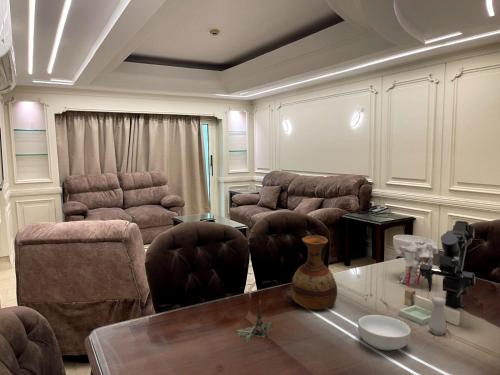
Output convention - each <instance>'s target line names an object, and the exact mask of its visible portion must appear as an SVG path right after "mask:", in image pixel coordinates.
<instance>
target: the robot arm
mask: <svg viewBox="0 0 500 375" xmlns="http://www.w3.org/2000/svg"><path fill="white" fill-rule="evenodd" d="M454 222H455V223H454V225H453V227H452V230H447V231H446V233H443V234H441V236H440V243H441V248H442V251H443V253H442V255H439V257H438V263H437V264H438V269H435V268H434V269H433V267H432V265H428V264H427V263H426V264H425V263H423V264H422V263H421V264H422V265H421V266H420V265H419V268H420V272H421V276H420V277H422V278H424V279H425V280H427V288H428V292H431V290H432V285H433V275H435V276H441V277H443V278H442V291H445V301H446V303H445V306H446V307H448V308H451V309H454V310H457V309H461V308H465V307H466V305H465V304H463V302H462V300H463V296H465V295H468V288H471V287H475V285H476V274H475V273H474V272H472V271H471V272H470V271H466V270H463V269H464V265H465V257H466V253H467V248H468V247H469V246H470V245H471V244H472V242H473V239H475V228H474V227H473V226H472V225H470V223H469V222H468V221H463V220H456V221H454Z"/></svg>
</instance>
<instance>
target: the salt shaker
mask: <svg viewBox="0 0 500 375" xmlns="http://www.w3.org/2000/svg"><path fill="white" fill-rule="evenodd" d="M431 301H432V303H433V304H434V306H433V310H432V314H431V318H430V321H429V323H428V328H429V330H430V333H431V334H434V335H435V336H443V335H444V334H445V333H446V331H447V327H448V326H447V321H446V320H445V313H444V306H446V305H445V303H446V298H444V297H441V296H433V297H432V299H431Z"/></svg>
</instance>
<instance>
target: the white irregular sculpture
mask: <svg viewBox="0 0 500 375" xmlns="http://www.w3.org/2000/svg"><path fill="white" fill-rule="evenodd" d="M392 243H393V248H394V250H395V252H396V253H397V255H398V257H399V258H402V259H403V261H404V262H405V267H404V268H405V269H404V271H402V274H401V275H400V280H397V282H396V283H397V284H405V286H408V287H410V285H414V284H415V283H416V284H417V286H420V279H421V277H422V276H421V272H420V266H421V265H422V264H426V265H432V268H433V266H434V265H433V259H434V254H436V255H437V254H439V248H438V245H439V244H438V242H435V241H434V240H433V239H432V238H428V237H424V236H421V235H420V236H419V235H411V234H396V235H394V236H393V239H392ZM424 258H425V259H424ZM425 260H426V261H425Z"/></svg>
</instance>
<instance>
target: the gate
mask: <svg viewBox="0 0 500 375" xmlns="http://www.w3.org/2000/svg"><path fill="white" fill-rule="evenodd" d="M414 305H416V306H418V307H421V308H424V309H426V310H429V311H431V312H432V310H433V306H434V304H433V303H432V299H431V300H430V299H428V298H425V297H423V296H420V295H417V294H416V295H415V294H413V299H412V306H414ZM444 313H445V320H446V323H447V322H448V323H450V324H452V325H454V326H459V325H460V316H461V314H460V313H461V312H460V311H458V310H457V309H454V308H452V307H449V306H447V305H445V306H444Z"/></svg>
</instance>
